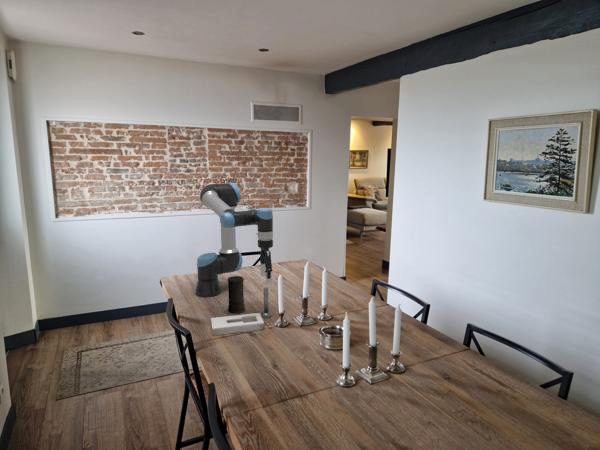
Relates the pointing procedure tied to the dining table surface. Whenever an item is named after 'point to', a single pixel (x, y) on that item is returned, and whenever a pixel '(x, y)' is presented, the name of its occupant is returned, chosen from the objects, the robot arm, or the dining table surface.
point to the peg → (266, 305)
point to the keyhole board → (237, 324)
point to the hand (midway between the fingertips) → (265, 280)
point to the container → (236, 295)
